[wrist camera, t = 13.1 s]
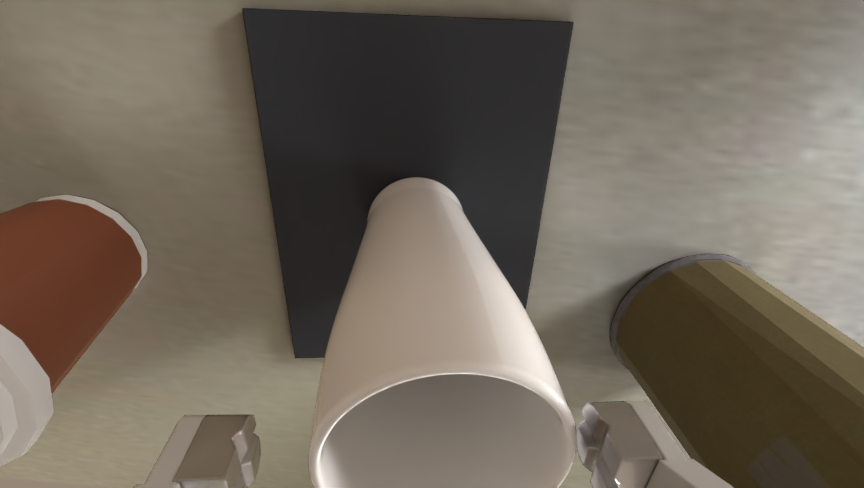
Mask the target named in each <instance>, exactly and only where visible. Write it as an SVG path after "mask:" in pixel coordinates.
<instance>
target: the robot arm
mask: <svg viewBox="0 0 864 488" xmlns="http://www.w3.org/2000/svg"><path fill="white" fill-rule="evenodd" d="M582 415H583V417H584V419H585V420H583V421H582V422H581V423H580V424H578V426H577V430H576V432H577V451H578V455H579V457H580V460H581V462H582V464H583V465H584V466H585V467H586V468H587V469H588V470H590V471H591V472H592V475H591V479H590V483H591V486H592V488H734V487H732V486H731V485H730V484H728V483H727V482H725V481H724V480H722V479H721V478H720V477H718V476H717V475H715V474H714V473H712V472H711V471H710V470H708V469H707V468H705V467H704V466H702V465H701V464H700V463H698V462H697V461H695V460H694V459H687V458H686V457H685V456H684V454H683V453H682V451H681V450H680V448H679V447H678V445H677V444H676V442H675V441H674V439H673V438H672V436H671V435H670V433H669V432H668V431H667V429H666V428H665V426H664V425H663V423H662V422H661V420H660V419H659V417H658V416H657V414H656V413H655V411H654V410H653V408H652V407H651V406H650V404H649V403H647V402H646V401H625V402H624V401H614V402H593V403H587V404H586V405H584V407H583V410H582ZM255 426H256V422H255V418H254V415H184V416H183V417H182V418H181V419H180V420H179V421H178V423H177V424H176V426H175V428H174V430H173V432H172V434H171V435H170V437H169V439H168V441H167V443H166V445H165V447H164V448H163V450H162V452H161V454H160V456H159V458H158V459H157V461H156V463H155V465H154V467H153V469H152V470H151V472H150V474H149V476H148V478H147V480H146V482H145V483H144V484H138V485H136V486H134V487H133V488H247V487H248V486H249V485H250V484H251V483H252V482H253V481H254V480H255V478H256V475H257V471H258V468H259V462H260V455H261V449H260V440H259V437H258V436H257V435H256V434H254V429H255Z"/></svg>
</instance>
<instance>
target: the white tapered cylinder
mask: <svg viewBox="0 0 864 488" xmlns="http://www.w3.org/2000/svg"><path fill="white" fill-rule="evenodd" d="M576 448H577V432H576V426H575V422H574V419H573V416H572V413H571V411H570V409H569V407H568V404H567V402H566V399H565V396H564V394H563V391H562V389H561V386H560V384H559V381H558V379H557V376H556V374H555V371H554V369H553V366H552V364H551V362H550V359H549V357H548V355H547V353H546V350H545V348H544V346H543V344H542V342H541V340H540V338H539V336H538V334H537V332H536V330H535V328H534V326H533V324H532V322H531V320H530V318H529V316H528V314H527V312H526V310H525V308H524V307H523V305H522V303H521V302H520V300H519V298H518V296H517V295H516V293H515V292H514V290H513V288H512V287H511V285H510V284H509V282H508V281H507V279H506V278H505V276H504V274H503V273H502V271H501V270H500V268H499V267H498V265H497V264H496V262H495V261H494V259H493V258H492V256H491V255H490V253H489V251H488V250H487V248H486V247H485V245H484V244H483V242H482V241H481V239H480V237H479V236H478V234H477V233H476V231H475V230H474V228H473V226H472V225H471V223H470V222H469V220H468V218H467V217H466V215H465V213H464V210H463V208H462V206H461V204H460V202H459V200H458V198H457V197H456V196H455V194H454V193H453V192H452V191H451V190H450V189H448V188H447V187H446V186H444V185H443V184H441V183H439V182H437V181H435V180H432V179H428V178H422V177H411V178H405V179H401V180H398V181H396V182H394V183H392V184H390V185H389V186H387V187H386V188H384V189H383V190H382V191H381V192H380V193H379V194H378V195H377V196H376V198H375V199H374V201H373V203H372V205H371V207H370V209H369V213H368V217H367V223H366V228H365V231H364V234H363V237H362V240H361V243H360V246H359V249H358V252H357V255H356V258H355V261H354V264H353V267H352V270H351V273H350V275H349V278H348V281H347V284H346V287H345V290H344V292H343V295H342V298H341V301H340V304H339V307H338V310H337V313H336V316H335V319H334V323H333V326H332V329H331V333H330V337H329V340H328V344H327V348H326V352H325V357H324V361H323V366H322V371H321V376H320V381H319V387H318V393H317V399H316V406H315V413H314V420H313V428H312V435H311V442H310V447H309V454H308V468H309V474H310V478H311V481H312V484H313V487H314V488H558V487H559V486H560V485H561V484H562V482H563V481H564V479H565V478H566V476H567V474H568V472H569V471H570V468H571V466H572V464H573V461H574V457H575V454H576Z"/></svg>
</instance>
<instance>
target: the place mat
mask: <svg viewBox="0 0 864 488" xmlns="http://www.w3.org/2000/svg"><path fill="white" fill-rule="evenodd" d="M242 10H243V17H244V23H245V30H246V37H247V43H248V50H249V56H250V63H251V70H252V76H253V83H254V89H255V96H256V103H257V109H258V116H259V122H260V129H261V136H262V142H263V149H264V155H265V162H266V169H267V175H268V182H269V188H270V195H271V202H272V208H273V215H274V222H275V228H276V235H277V241H278V248H279V255H280V261H281V268H282V274H283V281H284V288H285V294H286V301H287V307H288V314H289V321H290V327H291V334H292V340H293V347H294V354H295V358H320V357H325V352H326V348H327V344H328V340H329V337H330V333H331V329H332V326H333V323H334V319H335V316H336V313H337V310H338V307H339V304H340V301H341V298H342V295H343V292H344V290H345V287H346V284H347V281H348V278H349V275H350V273H351V270H352V267H353V264H354V261H355V258H356V255H357V252H358V249H359V246H360V243H361V240H362V237H363V234H364V231H365V228H366V223H367V217H368V213H369V209H370V207H371V205H372V203H373V201H374V199H375V198H376V196H377V195H378V194H379V193H380V192H381V191H382V190H383V189H384V188H386V187H387V186H389V185H390V184H392V183H394V182H396V181H398V180H401V179H405V178H411V177H422V178H428V179H432V180H435V181H437V182H439V183H441V184H443V185H444V186H446V187H447V188H448V189H450V190H451V191H452V192H453V193H454V194H455V196H456V197H457V198H458V200H459V202H460V204H461V206H462V208H463V210H464V213H465V215H466V217H467V218H468V220H469V222H470V223H471V225H472V226H473V228H474V230H475V231H476V233H477V234H478V236H479V237H480V239H481V241H482V242H483V244H484V245H485V247H486V248H487V250H488V251H489V253H490V255H491V256H492V258H493V259H494V261H495V262H496V264H497V265H498V267H499V268H500V270H501V271H502V273H503V274H504V276H505V278H506V279H507V281H508V282H509V284H510V285H511V287H512V288H513V290H514V292H515V293H516V295H517V296H518V298H519V300H520V302H521V303H522V305H523V307H524V308H525V310H526V304H527V298H528V292H529V286H530V280H531V274H532V268H533V262H534V256H535V250H536V244H537V238H538V232H539V226H540V220H541V214H542V208H543V202H544V196H545V190H546V184H547V178H548V172H549V166H550V160H551V154H552V148H553V142H554V136H555V130H556V124H557V118H558V113H559V107H560V101H561V95H562V89H563V83H564V77H565V71H566V65H567V59H568V53H569V47H570V41H571V35H572V29H573V22H561V21H537V20H513V19H489V18H465V17H441V16H417V15H393V14H369V13H345V12H322V11H298V10H274V9H250V8H243V9H242Z"/></svg>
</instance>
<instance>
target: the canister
mask: <svg viewBox="0 0 864 488" xmlns="http://www.w3.org/2000/svg"><path fill="white" fill-rule="evenodd" d="M610 341H611V345H612V348H613V351H614V353H615V355H616V357H617V358H618V359H619V361H620V362H621V363H622V364H623V365H624V366H625V367H626V368H627V369H629V370H630V371H631V373H632V374H633V376H634V377H635V379H636V380H637V381H638V383H639V384H640V386H641V387H642V389H643V390H644V391H645V393H646V394H647V396H648V397H649V399H650V400H651V401H652V403H653V404H654V406H655V407H656V409H657V410H658V411H659V413H660V414H661V416H662V417H663V419H664V420H665V421H666V423H667V424H668V426H669V427H670V429H671V430H672V431H673V433H674V434H675V436H676V437H677V439H678V440H679V442H680V443H681V444H682V446H683V447H684V449H685V450H686V452H687V453H688V454H689V456H690V457H691V459H694V460H695V461H697V462H698V463H700V464H701V465H702V466H704V467H705V468H707V469H708V470H710V471H711V472H712V473H714V474H715V475H717V476H718V477H720V478H721V479H722V480H724V481H725V482H727V483H728V484H730V485H731V486H732V487H734V488H864V347H863V346H861V345H860V344H858V343H857V342H855V341H854V340H852V339H851V338H849V337H848V336H846V335H845V334H843V333H842V332H840V331H839V330H837V329H836V328H834V327H833V326H831V325H830V324H828V323H827V322H825V321H824V320H822V319H821V318H820V317H818V316H817V315H815V314H814V313H812V312H811V311H809V310H808V309H806V308H805V307H803V306H802V305H800V304H799V303H797V302H796V301H794V300H793V299H791V298H790V297H788V296H787V295H785V294H784V293H782V292H781V291H779V290H778V289H776V288H775V287H774V286H772V285H771V284H769V283H768V282H766V281H765V280H763V279H762V278H760V277H759V276H757V275H756V274H755V272H754V271H753V270H752V269H751V268H750V267H749V266H748V265H746V264H745V263H744V262H742V261H740V260H738V259H735V258H733V257H731V256H728V255H719V254H702V255H694V256H687V257H684V258H680V259H677V260H674V261H671V262H669V263H667V264H665V265H663V266H661V267H659V268H657V269H656V270H655V271H653V272H652V273H650V274H649V275H648V276H646V277H645V278H644V279H642V280H641V281H640V282H638V283H637V284H636V285H635V286H634V287H633V288H632V289H631V290H630V291H629V292H628V294H627V295H626V296H625V298H624V299H623V300H622V302H621V303H620V305H619V307H618V309H617V312H616V314H615V317H614V319H613V322H612V325H611V331H610Z"/></svg>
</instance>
